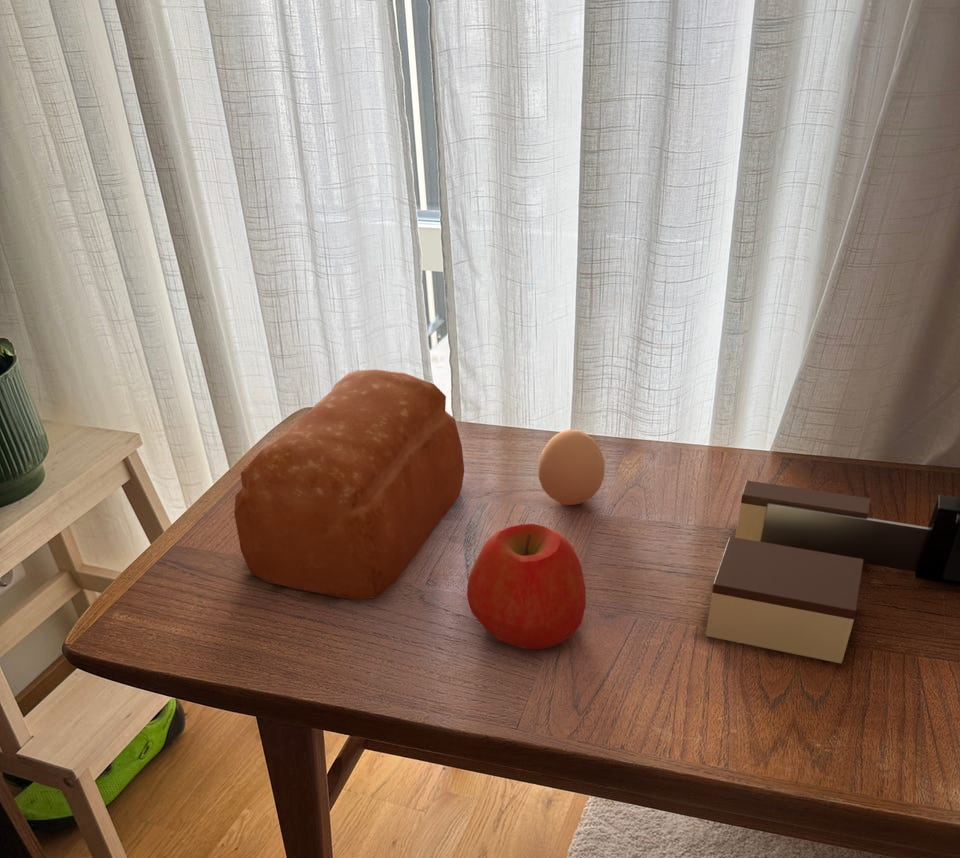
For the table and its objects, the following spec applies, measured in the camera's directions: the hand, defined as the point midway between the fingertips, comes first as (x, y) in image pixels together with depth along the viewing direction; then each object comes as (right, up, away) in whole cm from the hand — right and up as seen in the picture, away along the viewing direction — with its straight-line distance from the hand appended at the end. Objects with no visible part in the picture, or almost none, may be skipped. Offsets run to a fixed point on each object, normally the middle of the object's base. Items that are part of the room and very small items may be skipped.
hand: (958, 569), depth 88 cm
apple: (-42, -6, -1) cm, 42 cm away
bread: (-59, +5, +13) cm, 61 cm away
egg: (-36, +9, +16) cm, 40 cm away
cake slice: (-13, +3, +7) cm, 15 cm away
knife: (-7, +1, +3) cm, 8 cm away
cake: (-18, -5, -3) cm, 19 cm away
